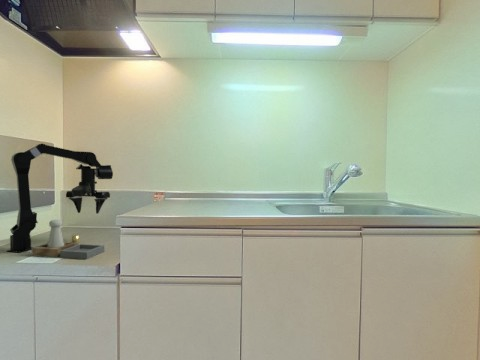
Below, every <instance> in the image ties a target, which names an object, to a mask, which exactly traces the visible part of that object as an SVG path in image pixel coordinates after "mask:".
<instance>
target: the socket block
mask: <svg viewBox="0 0 480 360" xmlns="http://www.w3.org/2000/svg"><path fill="white" fill-rule="evenodd" d="M64 244H65V246H62V247H59V248H49V247H47V246H48V242H47V243H44V244H41V245H38V246H32V247H33V248H32V249H31V255H32V257H45V256H47V258H48V257H49V258H61V257H60V251H61V250H64V249H67V248H70V247H73V246H75V245H78V243H77V242H72V241H67V242H65V243H64Z"/></svg>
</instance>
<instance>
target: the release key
mask: <svg viewBox="0 0 480 360" xmlns="http://www.w3.org/2000/svg"><path fill="white" fill-rule="evenodd" d="M71 242H77V243H78V244H80V234H72V235H71ZM64 246H65V243H64Z"/></svg>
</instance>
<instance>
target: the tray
mask: <svg viewBox="0 0 480 360" xmlns="http://www.w3.org/2000/svg"><path fill="white" fill-rule="evenodd" d="M104 252H105V245H103V244H89V243H88V244H87V243H79V244H78V245H75V246H73V247H70V248H67V249H64V250H61V251H60V257H59V258H64V259H65V258H66V259H78V260H79V259H80V260H88V259H91V258H93V257H94V256H97V255H99V254H102V253H104Z"/></svg>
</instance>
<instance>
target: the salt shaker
mask: <svg viewBox="0 0 480 360" xmlns="http://www.w3.org/2000/svg"><path fill="white" fill-rule="evenodd" d="M62 221H63V220H60V219H52V220H50V221H49V224H48V226H49V227H50V233H49V237H48V242H47V243H48V246H47V247H49V248H59V247H62V246H64V244H65V243H64V239H63V233H62V229H61V228H62V227H61V226H63V222H62Z"/></svg>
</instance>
